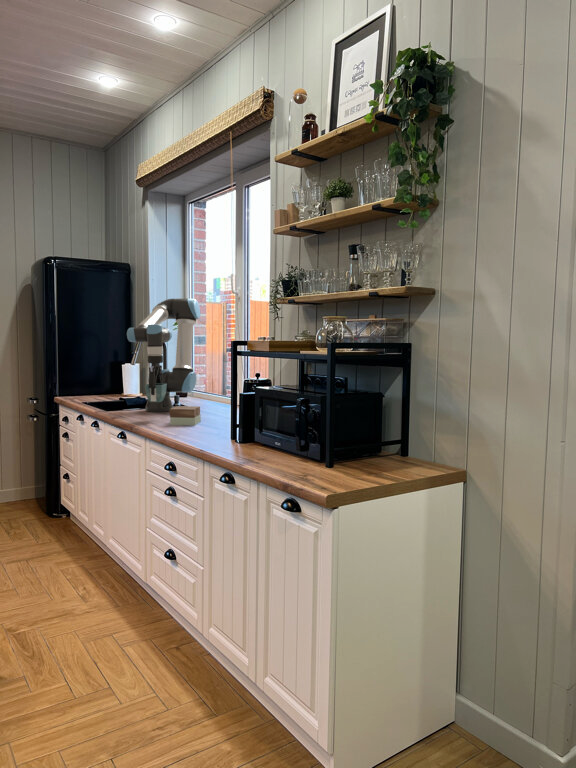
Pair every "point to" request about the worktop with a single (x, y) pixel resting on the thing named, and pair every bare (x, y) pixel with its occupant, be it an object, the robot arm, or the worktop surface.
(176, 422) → the tower base
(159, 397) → the flower pot
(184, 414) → the tower top
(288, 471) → the worktop surface
